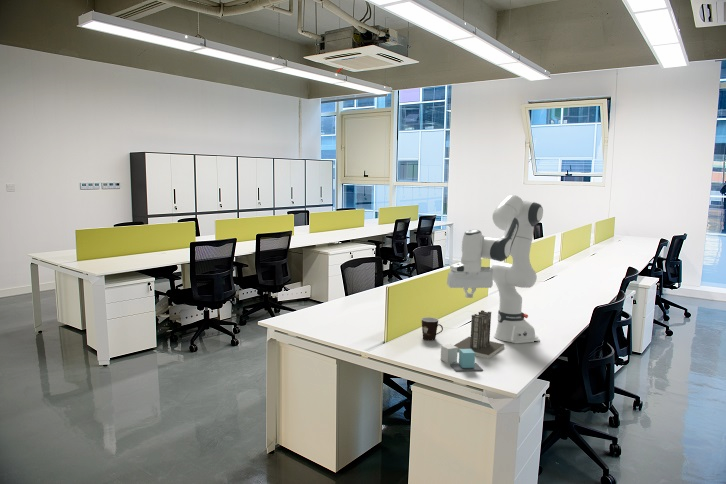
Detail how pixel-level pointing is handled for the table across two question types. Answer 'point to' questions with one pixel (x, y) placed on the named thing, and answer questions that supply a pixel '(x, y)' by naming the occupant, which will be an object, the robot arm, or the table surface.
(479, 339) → the building model
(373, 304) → the table surface
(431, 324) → the coffee mug
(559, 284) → the table surface
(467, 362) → the teal block
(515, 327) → the robot arm
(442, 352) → the light grey block
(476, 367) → the stand
